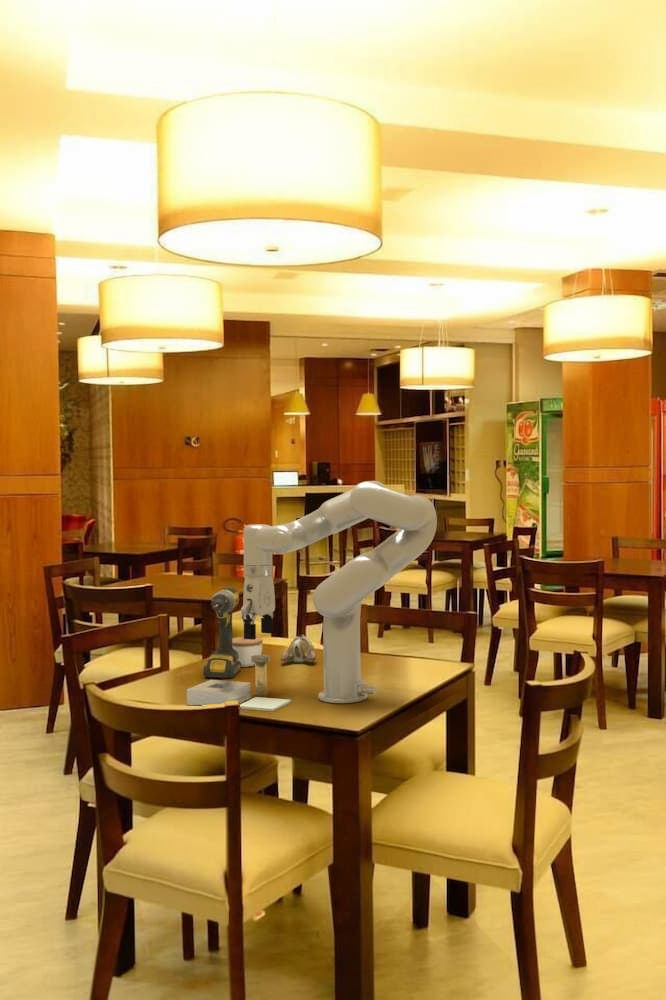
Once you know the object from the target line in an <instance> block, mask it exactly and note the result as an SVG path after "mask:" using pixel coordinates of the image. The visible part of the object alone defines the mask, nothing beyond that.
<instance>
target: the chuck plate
mask: <svg viewBox="0 0 666 1000" xmlns="http://www.w3.org/2000/svg"><path fill="white" fill-rule="evenodd" d="M249 698H250V699H252V683H251V682H247V681H246V682H245V681H233V680H222V679H221V680H219V679H209V680H206V681H204V682H201V683H198V684H196V685H194V686H191V687H189V688H187V689H186V705H187V706H193V705H206V704H221V703H224V702H225V701H228V700H238V701H239V702H240V703H239V704H242V703H245V702H246V701H249V700H250V699H249ZM245 700H246V701H245Z"/></svg>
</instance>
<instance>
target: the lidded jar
mask: <svg viewBox="0 0 666 1000" xmlns="http://www.w3.org/2000/svg"><path fill="white" fill-rule="evenodd" d="M232 647H233V649H234V650H236V651H237V652H238V655H239V659H238V660H237V661H240V662H241V668H248V667H249V666H250V667H255V663H254V662H251V656H254V655H262V654H263V653H262V652H263V639H262V638H261V637H256V639H254V640H252V639H244V633H243V634H242V636H237V637H232Z"/></svg>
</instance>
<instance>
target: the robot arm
mask: <svg viewBox="0 0 666 1000" xmlns="http://www.w3.org/2000/svg"><path fill="white" fill-rule="evenodd" d="M367 519H371V520H373V521H376V522H379V523H381V524H382V523H383V524H385V525H388V526H390V527H394V528H396V529H398V530H397V531H395V532H394V533H393V534H391V535H390V536H388V537H387V538H386V539H385V540H384V541H382V542H381V543H380V544H378V545H377V546H375V547H374V548H373V549H371V550H370V551H367V552H364V553H362V554H359V555H357V556H356V557H354V558H352V559H351V560H350V561H348V562H347V563H345V564H344V565H343V566H342V567H340V568H338V570H336V571H335V572H334V573H332V574H331V575H330V576H328V577H327V578H325V580H323V581H322V582H321V583H319V584H318V585H317V587H316V588H315V589H314V592H313V597H312V601H313V603H312V604H313V607H314V609H315V610H316V611H317V612H318V614H320V615H321V616H323V622H322V623H323V625H322V629H323V630H322V633H323V635H322V636H323V638H322V641H323V645H322V646H323V647H322V648H323V688H324V690H322V691H320V692H319V693H318V697H317V698H318V700H320V701H321V702H324V703H331V704H351V703H358V702H362V701H365V700H367V698H368V695H375V694H376V691H377V689H376V686H375V685H373V684H371V685H368V684H367V685H366V682H365V679H362V673H361V672H362V671H361V669H362V668H361V609H362V601H363V600H364V599H366V598H367V597H369V596H370V595H372V594H373V593H374V592H375V591H377V590H379V589H380V588H381V587H383V586H385V585H386V584H387V582H388V581H390V580H391V579H392V578H393V577H394V576H396V575H397V574H398V573H400V572H401V571H402V570H404V569H405V568H406V567H407V566H408V565H411V563H412V562H415V560H416V559H417V558H418V557H420V556H421V555H422V554H423V553H424V552H425V551H426V550H427V549H428V548H429V546H430V545H431V543H432V541H433V540H434V537H435V535H436V531H437V525H438V523H437V522H438V519H437V511H436V509H435V505H434V504H433V502H432V501H431V500H430V499H429V498H428V497H426V496H424V495H420V494H417V495H408V494H406V493H402V492H398V491H396V490H392V489H390V488H387V486H386V485H385V484H383V482H380V481H378V480H368V481H366V480H365V481H362V482H359V483H358V484H356V485H355V486H354V487H353V488H352V489H350V490H348V491H346V492H344V493H341V494H339V495H337V496H335V497H332V498H330V499H328V500H326V501H324V502H323V503H322V504H321V505H320V507H318V509H316V510H314V511H312V512H311V513H309V514H306V515H304V516H303V517H300V518H299V519H296V520H293V521H291V522H288V523H287V522H286V523H283V524H278V525H269V524H265V523H264V524H261V523H260V524H259V523H257V524H256V523H254V524H247V525H246V526H245V527H244V528H243V578H244V585H243V594H242V596H243V597H242V600H243V601H242V603H243V604H242V607H241V608H240V613H241V619H242V623H243V634H244V639H252V640H254V639H256V635H257V634H256V633H257V632H256V631H257V629H256V628H257V627H256V626H257V625H256V623H255V622H256V619H257V616H258V617H261V618H260V627H261V628H260V632H261V634H273V629H274V628H273V626H274V624H273V622H274V621H273V620H274V619H273V618H274V612H275V609H276V595H275V583H274V577H273V553H275V554H281V555H282V554H283V555H284V554H289V553H291V552H295V551H298V550H301V549H303V548H305V547H307V546H310V545H312V544H314V543H316V542H318V541H320V540H323V539H324V538H327V537H329V536H331V535H335V534H337V533H339V532H342V531H344V530H346V529H348V528H350V527H352V526H354V525H356V524H359V523H361V522H363V521H365V520H367Z"/></svg>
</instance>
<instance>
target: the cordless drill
mask: <svg viewBox="0 0 666 1000" xmlns="http://www.w3.org/2000/svg"><path fill="white" fill-rule="evenodd" d="M210 601H211V602H210V605H211V608H212V610H213V611H214V612H215V614H216V617H217V618H218V627H219V629H218V630H219V632H218V634H219V635H218V637H219V639H218V641H219V642H218V647H217V648H216V650H214V651H213V652H212V653H211V654H209V655H210V656H209V658H208V660H207V663H206V665H204V667H203V669H202V671H203V672H202V674H203V676H204V677H207V678H212V679H215V678H216V679H218V678H219V679H233V678H234V677H235V676H236V675H238V673H239V672H241V668H242V667H241V662H240V661H237V660H238V659H239V655H238V652H237V651H236V650H234V649H233V647H232V638H234V637H233V636H234V633H233V612H234V610H235V608H236V607H237V606H238V605H239V601H240V594H239V592H238V590H237V589H236V588H234V587H231V586H226V587H224V588H221V589H219V590H218V591H217V592H216V593H215V594H213V595H212V597H211V600H210Z"/></svg>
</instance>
